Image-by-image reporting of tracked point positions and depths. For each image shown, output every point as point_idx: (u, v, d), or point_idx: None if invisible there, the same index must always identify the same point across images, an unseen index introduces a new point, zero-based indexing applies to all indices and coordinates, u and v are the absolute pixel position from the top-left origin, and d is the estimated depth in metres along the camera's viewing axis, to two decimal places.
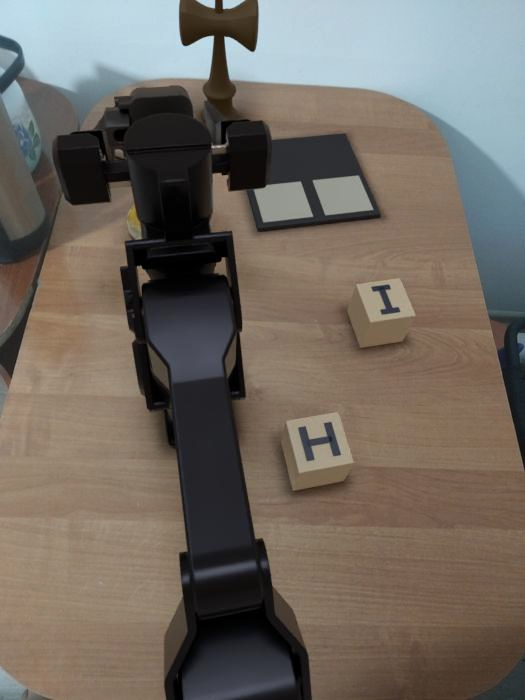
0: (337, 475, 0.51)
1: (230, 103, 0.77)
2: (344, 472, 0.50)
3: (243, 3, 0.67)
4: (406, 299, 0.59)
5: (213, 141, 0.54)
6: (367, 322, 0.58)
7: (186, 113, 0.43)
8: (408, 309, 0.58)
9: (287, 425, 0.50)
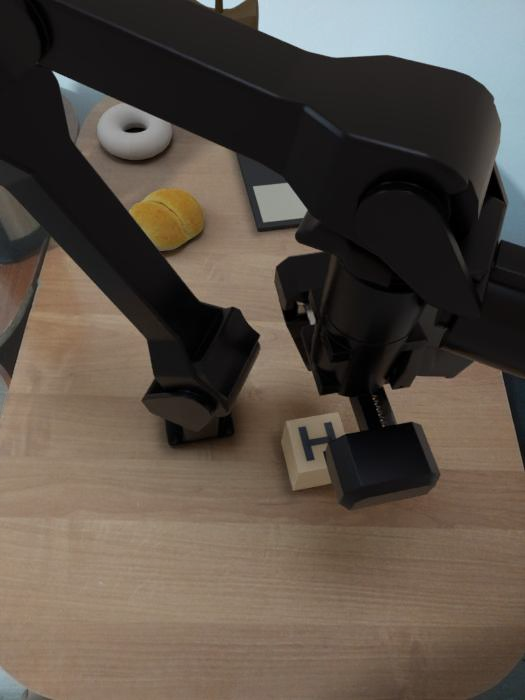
0: None
1: None
2: None
3: (243, 3, 0.67)
4: None
5: None
6: None
7: None
8: None
9: (287, 425, 0.50)
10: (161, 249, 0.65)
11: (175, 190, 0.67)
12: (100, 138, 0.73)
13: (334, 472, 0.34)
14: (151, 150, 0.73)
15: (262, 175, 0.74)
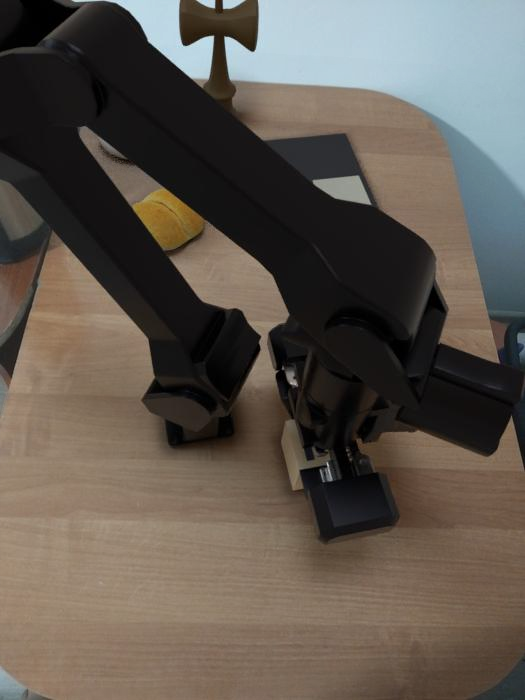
0: None
1: (230, 103, 0.77)
2: None
3: (243, 3, 0.67)
4: None
5: None
6: None
7: None
8: None
9: (287, 425, 0.50)
10: None
11: None
12: (100, 138, 0.73)
13: (313, 513, 0.42)
14: None
15: None
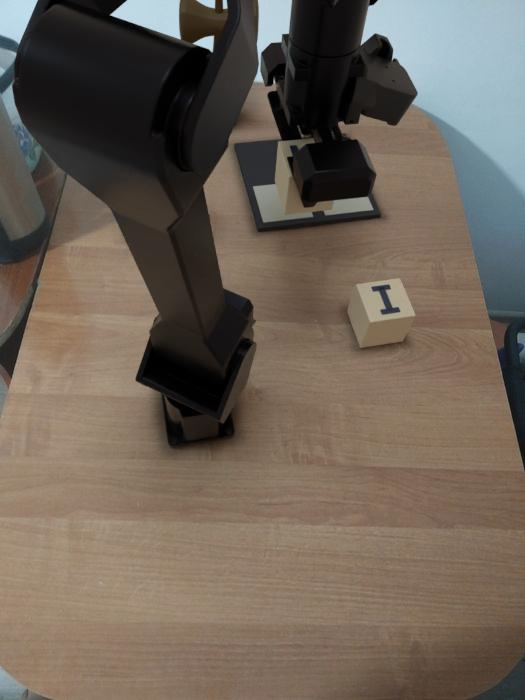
0: None
1: None
2: None
3: None
4: (406, 299, 0.59)
5: None
6: (367, 322, 0.58)
7: (406, 90, 0.47)
8: (408, 309, 0.58)
9: (279, 144, 0.54)
10: None
11: None
12: None
13: (298, 174, 0.46)
14: None
15: (262, 175, 0.74)
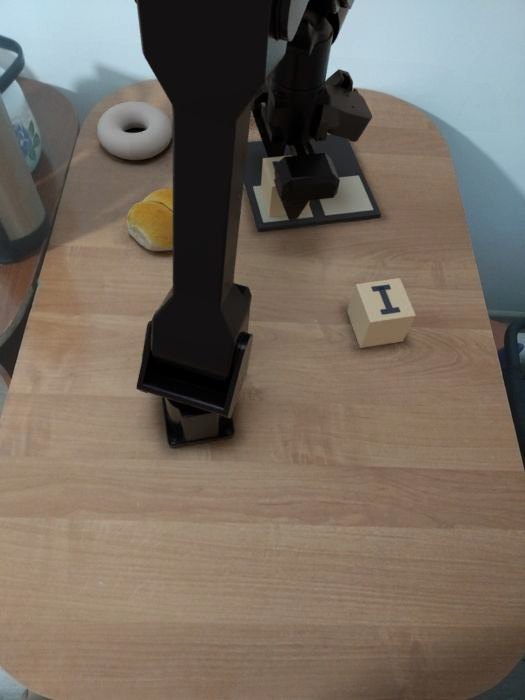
0: None
1: None
2: None
3: None
4: (406, 299, 0.59)
5: None
6: (367, 322, 0.58)
7: (362, 114, 0.60)
8: (408, 309, 0.58)
9: (264, 160, 0.68)
10: (161, 249, 0.65)
11: None
12: (100, 138, 0.73)
13: (278, 180, 0.58)
14: (151, 150, 0.73)
15: None
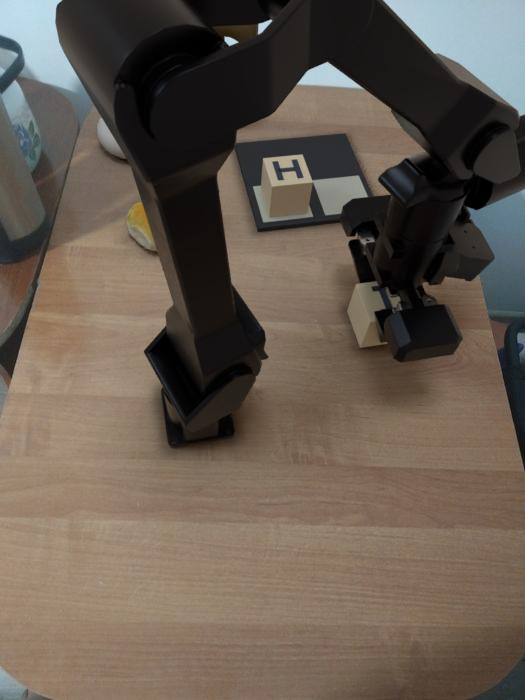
0: (301, 200, 0.68)
1: None
2: (306, 196, 0.68)
3: None
4: None
5: None
6: (367, 322, 0.58)
7: (485, 255, 0.52)
8: None
9: (264, 160, 0.68)
10: None
11: None
12: (100, 138, 0.73)
13: (391, 336, 0.50)
14: None
15: None
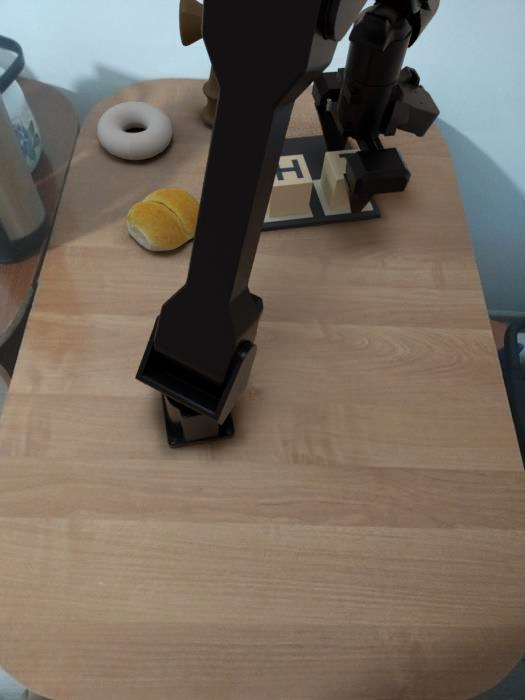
0: (301, 200, 0.68)
1: None
2: (306, 196, 0.68)
3: None
4: None
5: None
6: (334, 181, 0.67)
7: (431, 110, 0.62)
8: None
9: None
10: (161, 249, 0.65)
11: (175, 190, 0.67)
12: (100, 138, 0.73)
13: (350, 174, 0.60)
14: (151, 150, 0.73)
15: None
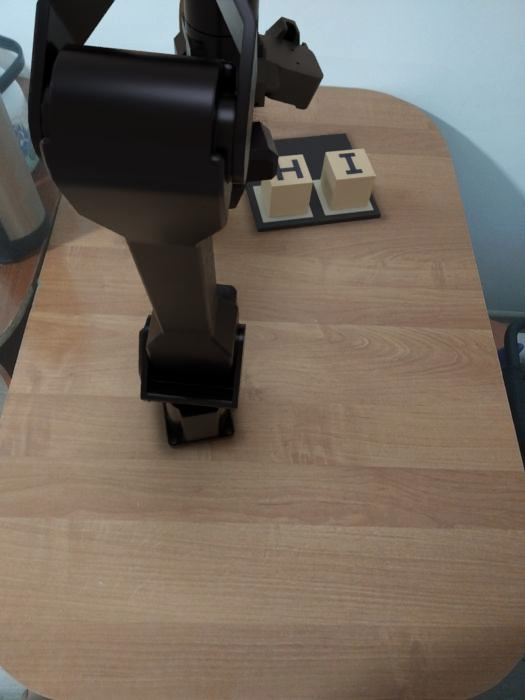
0: (301, 200, 0.68)
1: None
2: (306, 196, 0.68)
3: None
4: (368, 163, 0.68)
5: None
6: (334, 181, 0.67)
7: (310, 72, 0.47)
8: (369, 171, 0.68)
9: None
10: None
11: None
12: None
13: None
14: None
15: None
